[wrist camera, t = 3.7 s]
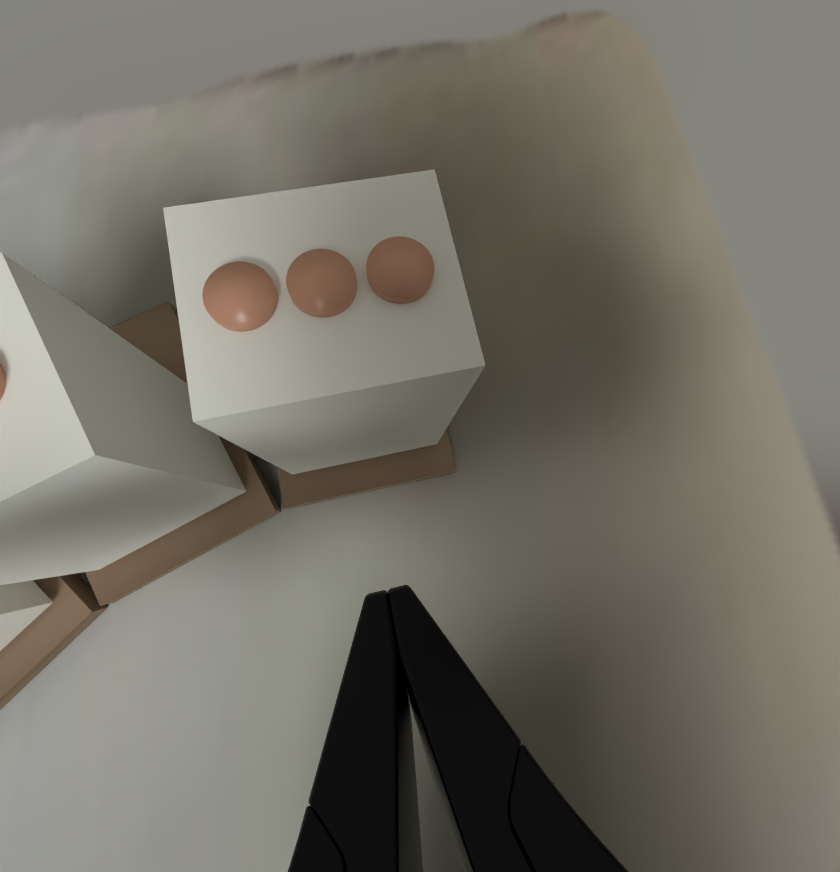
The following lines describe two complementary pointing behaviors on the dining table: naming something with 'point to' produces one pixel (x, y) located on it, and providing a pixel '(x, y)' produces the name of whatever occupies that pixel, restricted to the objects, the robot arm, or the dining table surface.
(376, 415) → the three-dot tile
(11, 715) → the dining table surface
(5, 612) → the white pillar with knob
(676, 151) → the dining table surface
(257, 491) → the tile tracks
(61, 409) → the two-bump white pillar
